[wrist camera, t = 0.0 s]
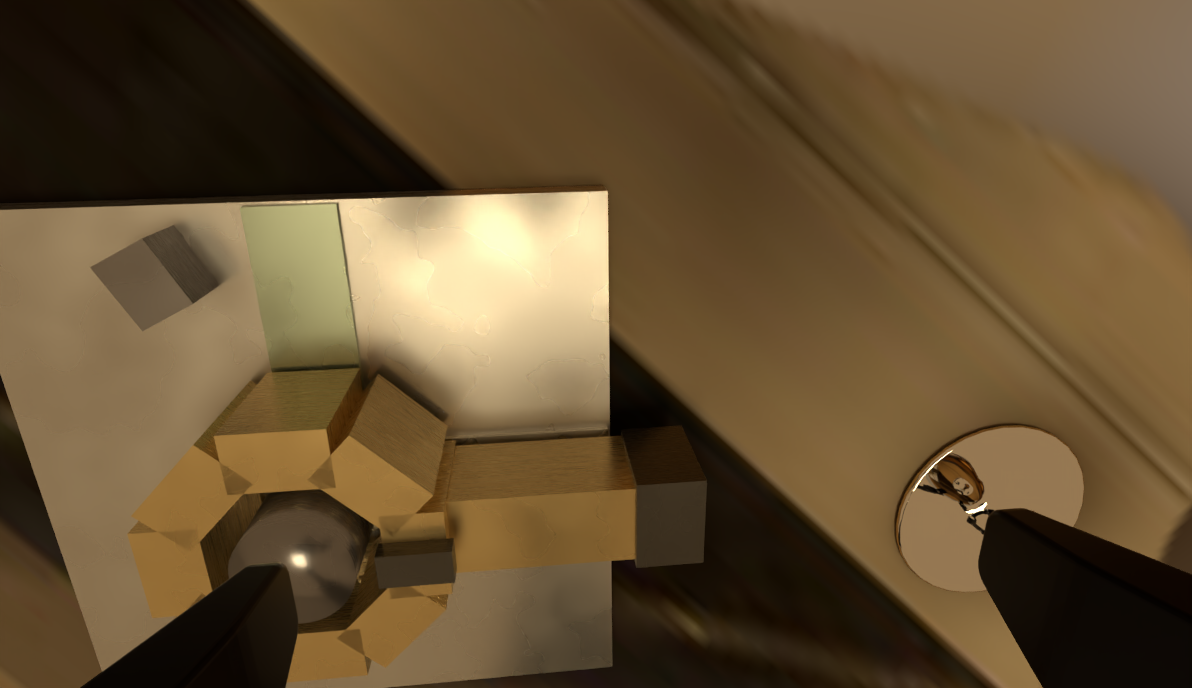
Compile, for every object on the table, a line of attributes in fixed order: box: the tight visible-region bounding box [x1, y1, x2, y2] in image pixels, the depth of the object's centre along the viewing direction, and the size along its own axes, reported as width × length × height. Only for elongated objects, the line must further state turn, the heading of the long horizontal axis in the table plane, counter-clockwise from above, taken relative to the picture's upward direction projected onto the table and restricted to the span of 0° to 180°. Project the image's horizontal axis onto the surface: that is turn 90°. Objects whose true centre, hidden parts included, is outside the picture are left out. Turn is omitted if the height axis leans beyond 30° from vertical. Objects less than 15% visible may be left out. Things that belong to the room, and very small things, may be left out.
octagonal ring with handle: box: [127, 368, 707, 683], centre depth 21 cm, size 8×15×5 cm, turn 91°
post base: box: [0, 185, 612, 688], centre depth 21 cm, size 18×18×6 cm
